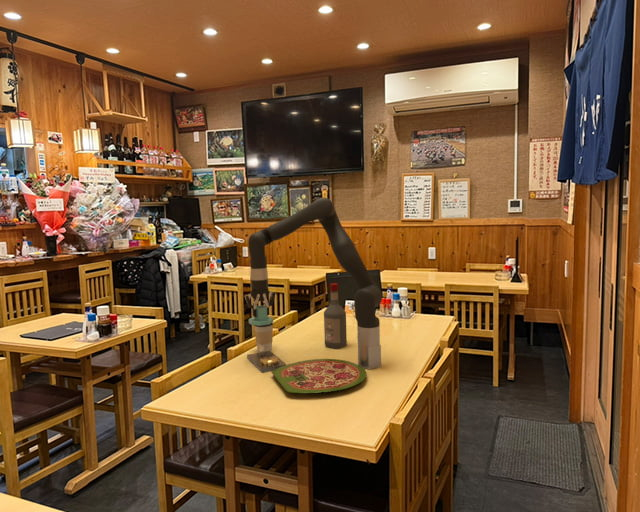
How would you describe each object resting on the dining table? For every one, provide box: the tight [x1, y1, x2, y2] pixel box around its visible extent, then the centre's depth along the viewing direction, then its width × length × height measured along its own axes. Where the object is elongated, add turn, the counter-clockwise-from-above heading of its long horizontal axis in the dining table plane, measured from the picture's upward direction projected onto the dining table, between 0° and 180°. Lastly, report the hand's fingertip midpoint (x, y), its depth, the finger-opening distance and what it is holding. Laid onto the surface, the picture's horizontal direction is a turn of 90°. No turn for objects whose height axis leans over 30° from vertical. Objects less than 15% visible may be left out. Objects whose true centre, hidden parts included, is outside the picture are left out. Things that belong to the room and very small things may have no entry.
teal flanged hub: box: [248, 304, 274, 326], centre depth 208 cm, size 10×10×7 cm
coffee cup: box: [253, 321, 274, 353], centre depth 222 cm, size 9×9×15 cm
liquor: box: [323, 282, 348, 350], centre depth 225 cm, size 9×9×30 cm
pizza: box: [271, 358, 367, 394], centre depth 185 cm, size 35×35×2 cm
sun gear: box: [260, 356, 280, 366], centre depth 201 cm, size 8×8×2 cm
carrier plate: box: [246, 345, 287, 373], centre depth 205 cm, size 21×11×6 cm, turn 25°
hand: (260, 316), depth 208 cm, fingers closed on teal flanged hub, 4 cm apart
